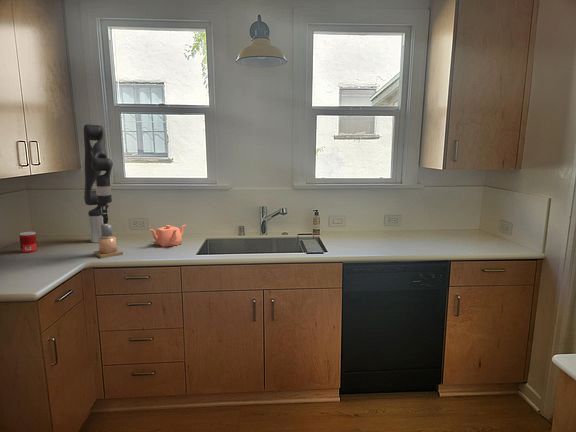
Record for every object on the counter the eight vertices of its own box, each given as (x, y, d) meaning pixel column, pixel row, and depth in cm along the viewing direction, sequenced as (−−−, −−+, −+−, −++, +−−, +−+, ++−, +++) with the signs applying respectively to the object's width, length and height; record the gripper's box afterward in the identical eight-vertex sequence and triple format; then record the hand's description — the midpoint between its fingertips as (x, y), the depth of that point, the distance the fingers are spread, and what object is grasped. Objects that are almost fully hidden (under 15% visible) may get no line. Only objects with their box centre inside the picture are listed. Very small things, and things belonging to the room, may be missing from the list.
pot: (176, 248, 231) (175, 228, 229) (149, 247, 233) (148, 227, 231) (187, 241, 249) (186, 223, 247) (161, 240, 251) (161, 222, 249)
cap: (111, 236, 213) (110, 225, 212) (100, 236, 212) (99, 225, 210) (114, 233, 220) (113, 222, 219) (103, 233, 219) (102, 223, 217)
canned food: (40, 250, 223) (38, 232, 221) (27, 253, 215) (25, 235, 214) (31, 249, 225) (29, 231, 223) (18, 252, 218) (15, 233, 216)
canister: (93, 253, 217) (92, 233, 215) (115, 250, 225) (113, 230, 223) (100, 258, 209) (99, 237, 206) (122, 254, 217) (121, 234, 215)
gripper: (97, 192, 215) (99, 220, 218) (95, 196, 203) (97, 225, 206) (111, 192, 218) (113, 219, 221) (111, 195, 206) (113, 224, 209)
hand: (105, 222), depth 214 cm, fingers open, 8 cm apart
